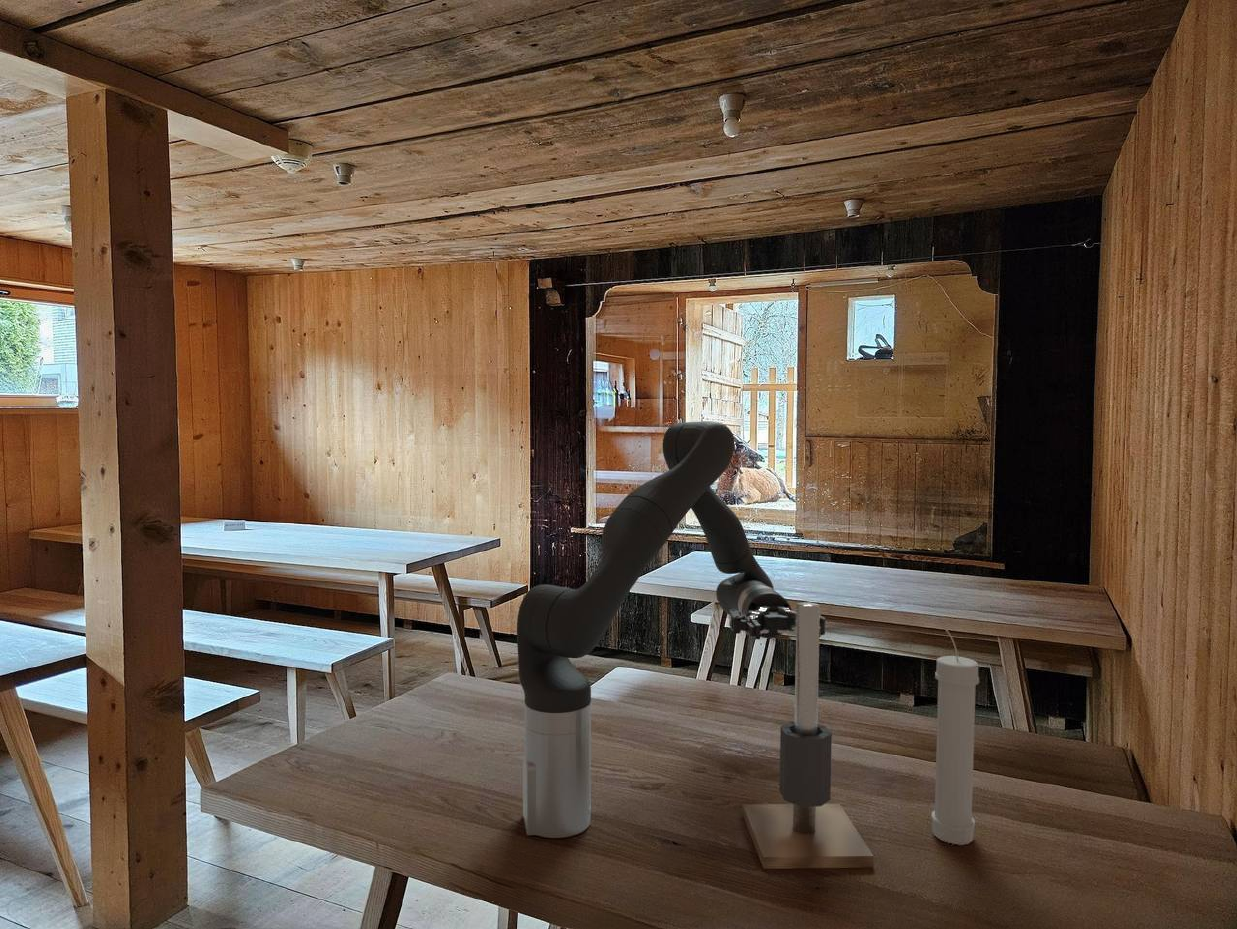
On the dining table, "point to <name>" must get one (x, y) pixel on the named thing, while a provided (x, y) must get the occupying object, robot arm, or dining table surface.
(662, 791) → the dining table surface
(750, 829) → the post
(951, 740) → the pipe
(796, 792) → the collar
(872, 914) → the dining table surface
